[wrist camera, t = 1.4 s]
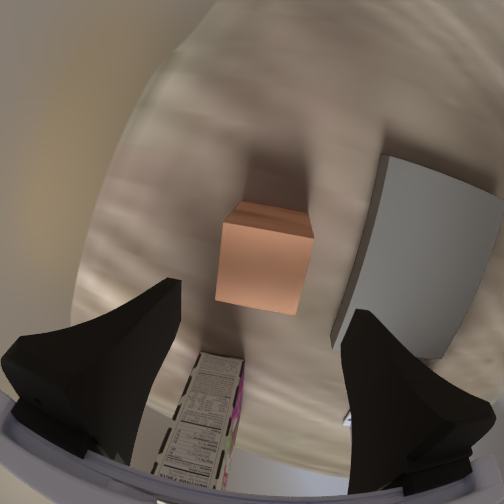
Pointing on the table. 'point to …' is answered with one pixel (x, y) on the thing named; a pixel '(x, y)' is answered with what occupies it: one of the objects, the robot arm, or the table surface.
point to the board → (420, 255)
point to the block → (264, 257)
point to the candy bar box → (204, 425)
